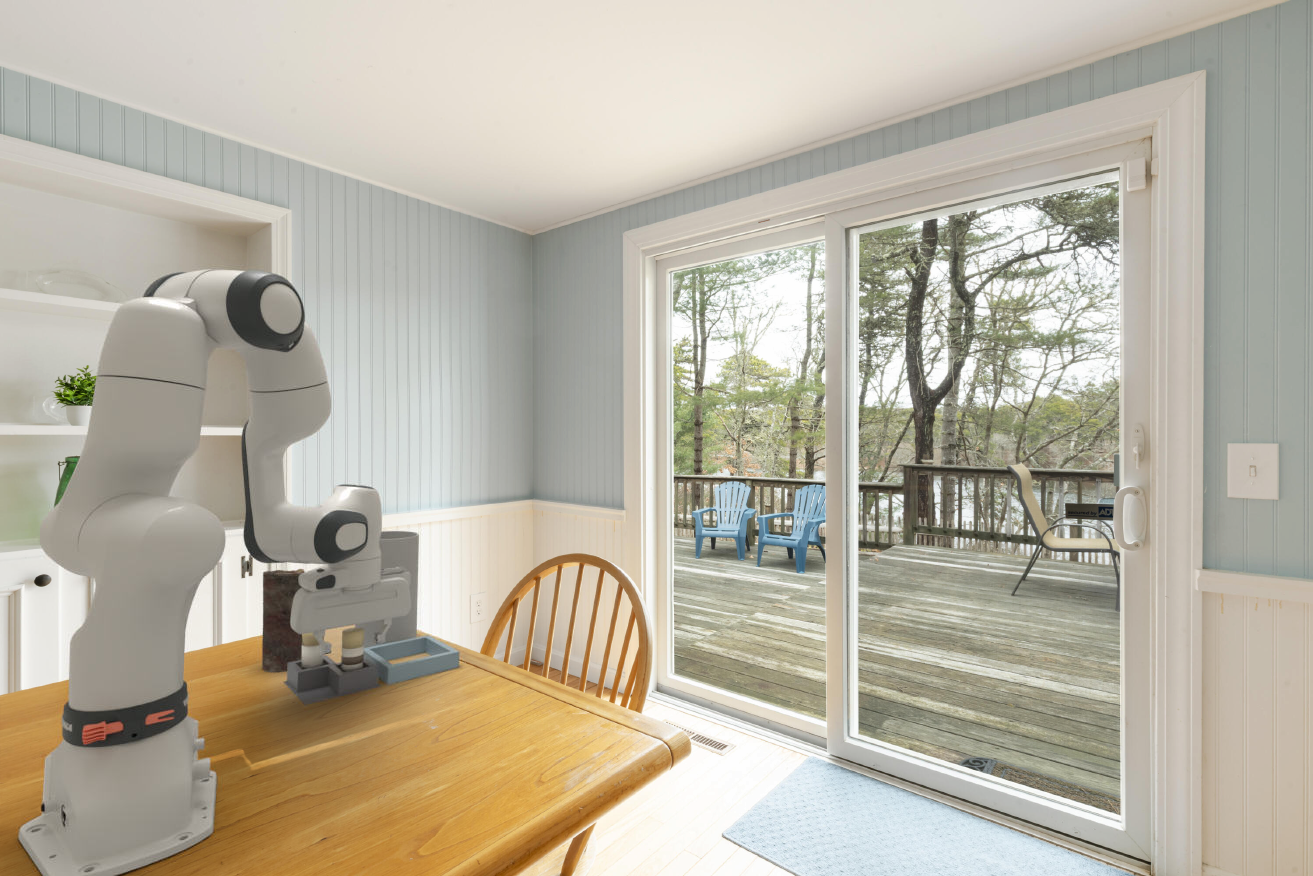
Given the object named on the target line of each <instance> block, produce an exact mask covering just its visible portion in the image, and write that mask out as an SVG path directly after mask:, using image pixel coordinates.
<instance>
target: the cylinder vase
mask: <svg viewBox="0 0 1313 876" xmlns="http://www.w3.org/2000/svg"><path fill="white" fill-rule="evenodd" d="M419 543H420V533H418V532H415V531H407V530H403V531H401V530H384V531H383V530H382V533H381V536H380V540H379V547H380V550H381V569H387V568H396V567H403V568H404V569H407V570H408V571H409V572H410V575H411V582H410V586H409V590H410V597H411V610H410V612H409V613H408V614H407V615H406V616H400V617H395V618H392V624H391V626H390V627H389V629H388V631H387V632H386V633H385V642H384V643H380V644H376V643H374V638H375V637H374V633H376V632H378V631H379V629H380V627H381V625H382V624H383V623H381V622H380V620H378V621H372V622H367V623H361V624H356V625H354V628H363V629H364V648H367V647H372V646H377V645H382V644H387V643H392V642H397V641H402V640H407V639H412V638H417V635H418V633H417V631H418V629H417V628H418V597H419V595H418V594H419V592H418V591H419V589H418V588H419V555H420V554H419V548H420V547H419V546H420V544H419ZM403 572H406V571H403ZM392 574H393V573H392Z"/></svg>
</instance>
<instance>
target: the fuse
mask: <svg viewBox="0 0 1313 876" xmlns="http://www.w3.org/2000/svg"><path fill="white" fill-rule="evenodd" d="M321 637H322V638H323V640H324V641H325V636H321ZM323 662H324V655H321V654H320V644H319V643H318V641H317V640H316V638H315V637H314V636H313V632H311V633H305V634H302V658H301V669H302V670H304V669H309V668H313V667H318V666H323Z"/></svg>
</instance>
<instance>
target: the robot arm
mask: <svg viewBox="0 0 1313 876" xmlns="http://www.w3.org/2000/svg"><path fill="white" fill-rule="evenodd" d="M101 349H102V350H101V354H100V357H99V361H98V366H97V372H96V378H95V385H94V391H93V397H92V405H91V410H90V417H89V422H88V427H87V434H86V438H85V441H84V445H83V448H82V451H81V453H80V456H79V458H78V461H77V464H76V465H75V468H74V470H73V473H72V475H71V476H70V479H69V481H68V484H67V486H66V488H65V490H64V492H63V494H62V497H61V498H60V501H59V502H58V503H57V504H56V505H55V506H54V507H53V508H51V510H50V511H49V512H47V514H46V515H45V517H44V519H43V520H42V522H41V525H40V527H39V532H38V533H39V534H38V536H39V537H38V538H39V543H40V546H41V549H42V550H43V552H44V553H45V555H46V556H47V557H48V558H50V559H51V560H52V561H53V562H54V563H56V564H57V565H59V566H60V567H62V568H63V569H64V570H66V571H68V572H70V573H73V574H75V575H78V576H82V577H87V578H92V579H94V582H95V588H94V593H93V598H92V601H91V604H90V607H89V609H88V613H87V615H86V618H85V620H84V621H83V623H82V625H81V626H80V627H79V628H78V629H77V630H76V631H75V632H74V633H73V635H72V636H71V639H70V643H69V663H68V664H69V666H68V667H69V669H68V701H66V703H65V704H64V705H63V712H62V714H61V715H62V716H61V727H62V730H61V731H62V732H61V734H62V741H61V743H59V744H58V746H57V747H56V748H54V750H52V751H51V752H50V753H49V754H48V755H47V756H46V757H45V759H44V770H43V772H44V773H43V786H42V787H43V788H42V789H43V790H42V803H41V805H40V811H41V815H39V816H37V817H35V818H34V819H32V820H29V821H28V822H26V823H24V824H23V825H21V826H20V828H19V831H18V840H19V842H20V843H21V845H22V847H23V848H24V849H25V851H26V852H27V854H28V855H29V857H30V858H31V860H32V862H33V863H34V865H35V866H36V867H37V869H38V870H39V872H40V874H41V875H42V876H118V875H121V874H124V873H127V872H130V871H133V870H136V869H139V868H142V867H145V866H148V865H150V864H152V863H156V862H158V861H160V860H161V861H162V860H163V859H166V858H168V857H170V856H173V855H175V854H178V853H179V852H182V851H184V850H187V849H188V848H190V847H192V846H194V845H196V844H198V843H200V842H201V841H203V840H204V839H206V838H209V836H211V835H212V834H213V833H214V824H215V814H216V812H215V811H216V798H217V797H216V796H217V785H218V784H217V783H218V777H217V772H216V771H214V770H211V757H205V758H201V759H198V751H202V750H205V744H206V743H205V742H206V741H205V738H204V737H201V738H199V720H196V719H195V718H193V717H191V716H189V715H188V714H189V705H188V704H189V701H190V700H189V699H190V696H189V691H188V684H187V683H188V682H187V681H185V680H184V676H185V675H184V674H185V673H184V672H185V651H186V650H185V647H186V646H185V645H186V631H187V625H188V624H187V623H188V619H189V615H190V612H191V608H192V605H193V602H194V599H195V596H196V593H197V591H198V588H199V586H200V584H201V582H202V581H203V579H204V578H205V577H206V576H208V574H210V573H211V572H212V571H213V570H214V569H215V568H216V566H217V565H218V563H219V562H220V561H221V559H222V557H223V554H224V551H225V549H226V541H227V537H226V531H225V528H224V526H223V524H222V522H221V520H220V519H219V517H218V516H217V515H216V514H215V513H213V512H212V511H211V510H209V509H206V508H205V507H203V506H201V505H199V504H197V503H194V502H193V501H189V500H187V499H185V498H181V497H177V496H176V497H175V496H169V495H170V492H171V490H172V487H173V485H174V483H175V480H176V478H177V477H178V474H179V472H180V470H181V469H182V467H183V466H184V464H186V462H187V461H188V460H190V459H191V458H192V457H193V456H194V455H195V454H196V452H197V450H198V448H199V445H200V440H201V434H202V433H201V431H202V423H203V417H204V409H205V408H204V407H205V402H206V401H205V400H206V393H207V386H208V385H207V384H208V374H209V373H208V372H209V360H210V359H211V356H212V354H213V353H214V351H215V350H216V349H221V350H226V351H227V350H230V351H231V350H235V351H236V352H237V353H238V354H239V356H240V357H241V359H242V361H243V362H244V367H245V368H244V369H245V375H246V376H245V377H246V381H247V387H248V393H249V396H250V398H249V399H250V413H249V414H250V415H249V419H248V420H246V422H245V424H244V425H243V428H242V432H241V461H242V476H243V487H244V488H243V489H244V499H245V502H244V503H245V518H244V523H243V524H244V525H243V534H242V535H243V543H244V545H245V549H246V551H247V552H248V553H249V555H250V556H251V557H252V558H253V559H254V560H256V561H257V562H260V563H263V564H280V563H281V564H282V563H283V564H284V563H285V564H286V563H291V564H292V563H294V564H304V565H306V564H307V565H309V564H313V565H320V566H318V567H315V568H313V569H310V570H307V571H305V573H303V574H301V575H300V576H299V578H298V582H299V585H300V586H301V587H302V588H300V589H299V590H298V591H297V592H296V594H295V596H294V599H293V603H292V610H291V620H290V624H291V628H292V629H293V630H294V631H295V632H297V633H298V634H305V633H311V632H313V636H314V637H315V638H316V640H317V641H318V643H319V644H320V654H321V655H329V654H332V645H333V644H332V643H331V642H329V641H325V639H324V640H323V638H322V637H321V636H324V637H325V636H326V631H327V630H332V629H333V630H334V629H338V628H344V627H349V626H355V625H356V624H361V623H367V622H372V621H378V620H380V622H381V623H383V624H382V625H381V627H380V629H379V631H378V632H376V633H374V637H375V638H374V643H376V644H380V643H384V642H385V633H386V632H387V631H388V629H389V627H390V626H391V624H392V618H395V617H400V616H406V615H407V614H408V613H409V612H410V610H411V597H410V590H409V586H410V582H411V575H410V572H409V571H408V570H407V569H404V568H403V567H396V568H387V569H381V550H380V547H379V540H380V536H381V533H382V531H383V530H382V529H383V522H382V521H383V515H382V514H383V512H382V503H381V498H380V497H381V496H380V494H379V491H378V490H377V489H375V488H374V487H372V486H367V485H356V484H345V483H344V484H339V485H338V484H337V485H335V486H334V487H333V490H332V494H331V495H330V496H329V497H328V498H327V499H326V500H324V501H323V502H321V503H320V504H317V505H316V506H303V505H302V506H301V505H294V504H292V503H291V502H289V501H288V499H287V498H286V491H285V489H286V488H285V475H284V472H285V471H284V456H285V452H286V451H287V450H288V448H289V447H290V446H291V445H293V444H295V443H297V442H300V441H302V440H304V439H306V438H309V437H310V436H313V435H314V434H315V433H317V432H318V431H320V429H322V428H323V426H324V425H325V424H326V422H327V421H328V419H329V417H330V416H331V414H332V413H331V412H332V395H331V389H330V386H329V381H328V375H327V371H326V370H327V369H326V366H325V363H324V359H323V356H322V353H321V350H320V347H319V344H318V341H317V339H316V337H315V335H314V332H313V330H312V328H311V327H310V324H308V322H307V321H306V312H305V308H304V304H303V301H302V298H301V296H300V294H299V292H298V291H297V289H296V287H294V286H293V284H292V283H291V282H290V281H289V280H288V279H287V278H286V277H283V276H282V275H279V274H277V273H273V272H269V271H265V270H259V269H258V270H257V269H249V270H237V269H235V270H234V269H232V270H231V269H222V268H211V269H210V268H209V269H200V270H194V271H189V272H187V271H177V272H173V273H170V274H167V275H164V276H161V277H159V278H157V279H156V280H155V281H153V282H152V283H151V284H150V285H149V286H148V287H147V289H146V290H145V292H144V293H143V296H142V297H138V298H133V299H130V300H127V301H125V302H124V303H122V305H120V306H119V307H118V309H116V311H115V314H114V315H113V318H112V320H111V323H110V325H109V328H108V330H107V333H106V336H105V339H104V342H103V346H102V348H101ZM403 571H406V572H403ZM392 573H393V574H392Z"/></svg>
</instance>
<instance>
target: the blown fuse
mask: <svg viewBox="0 0 1313 876" xmlns="http://www.w3.org/2000/svg"><path fill="white" fill-rule="evenodd" d="M341 633H342V634H341V659H340V661H341V664H342V666H341V671H342V672H348V671H352V670H357V669H361V668H363V661H364V629H363V628H355V627H350V628H345V629H343V630H342V632H341Z"/></svg>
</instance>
